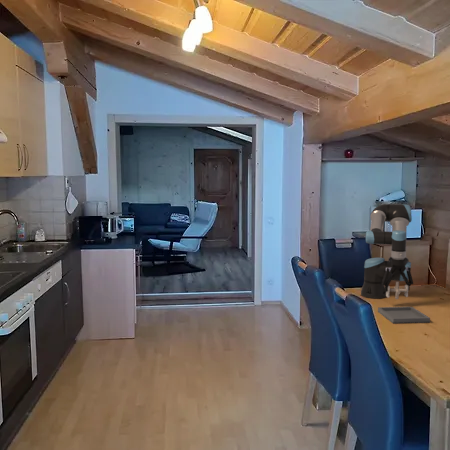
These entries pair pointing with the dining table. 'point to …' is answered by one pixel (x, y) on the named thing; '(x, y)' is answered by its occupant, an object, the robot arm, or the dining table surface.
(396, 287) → the pipe connector
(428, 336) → the dining table surface
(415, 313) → the tray
